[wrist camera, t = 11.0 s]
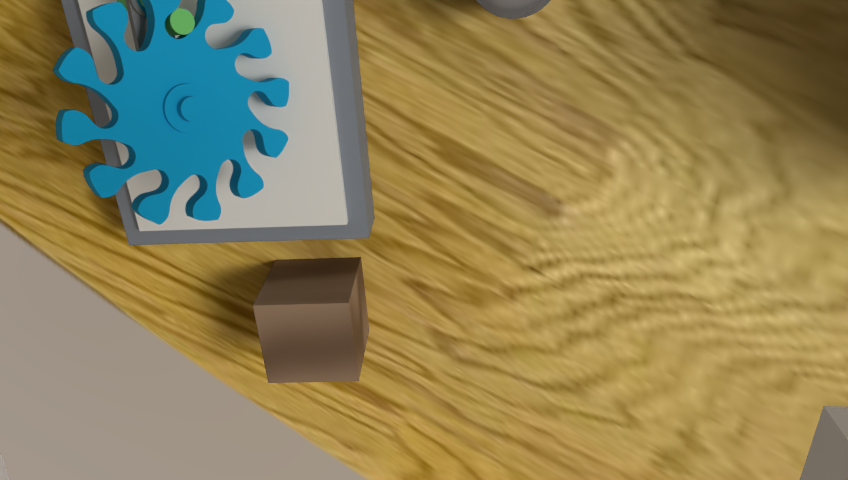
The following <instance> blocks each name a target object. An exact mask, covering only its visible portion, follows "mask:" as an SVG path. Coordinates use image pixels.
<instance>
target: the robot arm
mask: <svg viewBox="0 0 848 480" xmlns="http://www.w3.org/2000/svg"><path fill="white" fill-rule="evenodd" d="M0 480H10V479H9V476H8V474H7V471H6V468H5V465H4V462H3V460H2V457H1V454H0ZM800 480H848V407H838V406H824V407H823V410H822V413H821V416H820V419H819V422H818V425H817V428H816V431H815V434H814V437H813V441H812V444H811V447H810V450H809V453H808V456H807V459H806V462H805V465H804V468H803V471H802V474H801V478H800Z"/></svg>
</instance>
